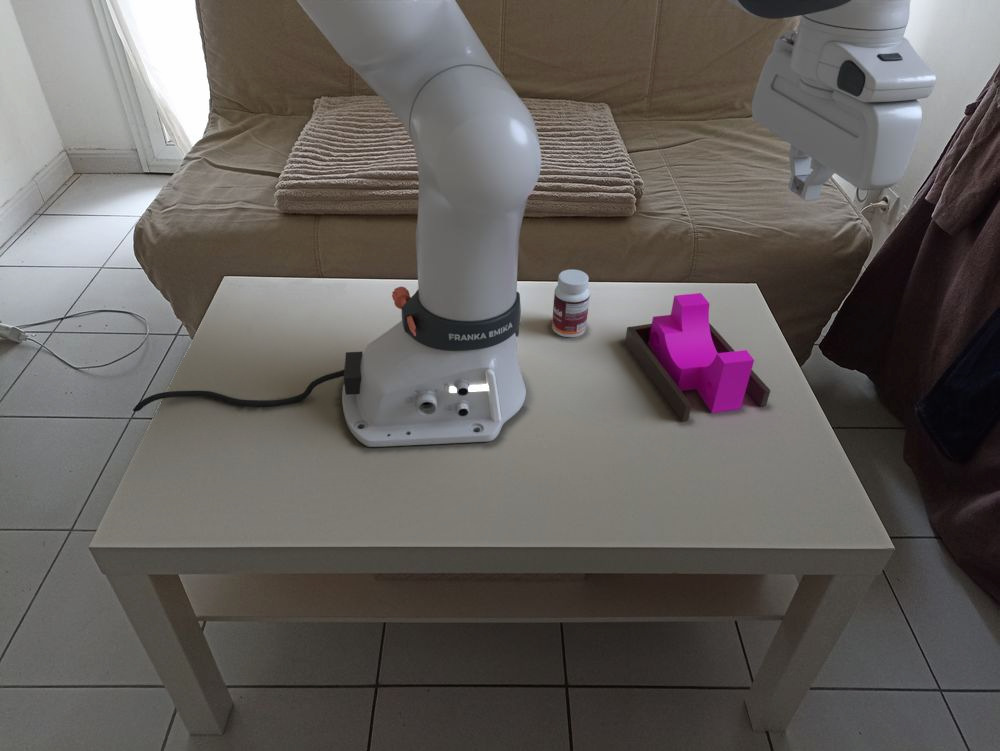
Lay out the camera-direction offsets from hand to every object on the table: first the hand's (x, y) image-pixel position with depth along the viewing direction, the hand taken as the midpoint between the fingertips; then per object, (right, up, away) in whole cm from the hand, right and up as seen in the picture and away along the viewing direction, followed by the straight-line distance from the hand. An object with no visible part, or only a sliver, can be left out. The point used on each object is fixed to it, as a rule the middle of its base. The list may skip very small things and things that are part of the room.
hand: (802, 195), depth 77 cm
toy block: (-6, -19, +20) cm, 28 cm away
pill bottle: (-21, -12, +28) cm, 37 cm away
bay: (-6, -18, +21) cm, 28 cm away
